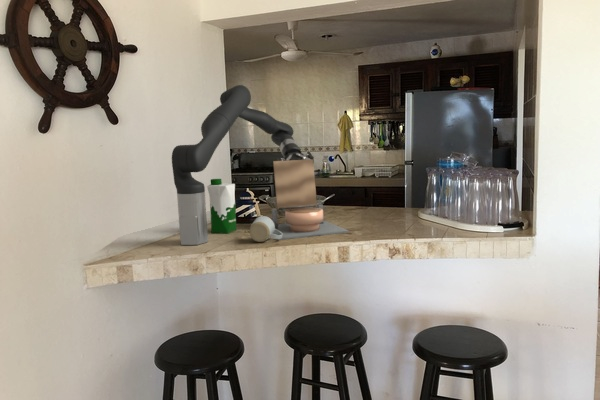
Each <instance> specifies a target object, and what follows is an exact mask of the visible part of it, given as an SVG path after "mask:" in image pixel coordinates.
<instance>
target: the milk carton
mask: <svg viewBox="0 0 600 400" xmlns="http://www.w3.org/2000/svg"><path fill="white" fill-rule="evenodd" d="M222 182H223V181H222V178H212V179H210V184H209V185H207V186H206V187H207V193H208V195H209V209H210V232H211V234H230V233H233V232H235V231H237V215H236V198H235V191H236V184H235V183H222Z"/></svg>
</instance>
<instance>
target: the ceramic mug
mask: <svg viewBox="0 0 600 400" xmlns="http://www.w3.org/2000/svg"><path fill="white" fill-rule="evenodd" d="M248 233H249V236H250V238H251V239H252V240H253V241H255V242H257V243H263V242H266V241H267V240H268V239H269V238H271V239H274V240H279V239H281V238H282V235H283V234H282V232H280V231H278V230H276V229H275V225H274V222H273V221H272V218H270V217H269V216H265V215H262V216H258V217H256V218H255V219H254V221H253V222H252V223H251V225H250V227H249V232H248ZM273 233H274V234H273ZM275 234H277V235H275Z"/></svg>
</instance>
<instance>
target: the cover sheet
mask: <svg viewBox="0 0 600 400" xmlns="http://www.w3.org/2000/svg"><path fill="white" fill-rule="evenodd" d="M272 163H273V164H272V165H273V176H274V188H275V189H274V190H275V201H276V209H277V211H278V210H279V211H281V210H289V209H294V208H317V205H318V203H317V190H316V189H317V188H316V180H315V179H316V178H315V177H316V176H315V168H314V167H315V166H314V164H315V163H313V159H308V160H289V161H278V160H273V161H272Z"/></svg>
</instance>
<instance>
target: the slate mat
mask: <svg viewBox="0 0 600 400" xmlns="http://www.w3.org/2000/svg"><path fill="white" fill-rule="evenodd" d="M319 225H320V229H319V230H317V231H312V232H293V231H291V230H290V224H288V223H286V222H285V223H278V228H277V229H276V230H278V231H280V232H282V234H283V235H282V238H281V239H278V241H283V240H291V239H292V240H293V239H300V238H309V237H311V238H312V237H317V236H319V237H320V236H327V235H337V234H345V233H346V234H347V233H349V231H350V230H348V229H346V228H343V227H342V226H338V225H336V224H334V223H332V222H329V221H327V220H324V219H323V224H319ZM273 234H274V233H273ZM275 235H277V234H275Z"/></svg>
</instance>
